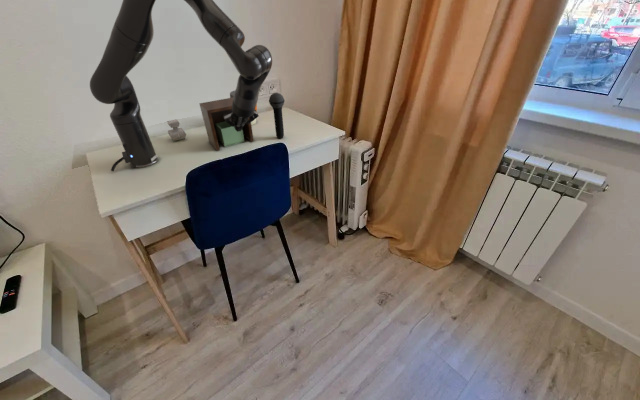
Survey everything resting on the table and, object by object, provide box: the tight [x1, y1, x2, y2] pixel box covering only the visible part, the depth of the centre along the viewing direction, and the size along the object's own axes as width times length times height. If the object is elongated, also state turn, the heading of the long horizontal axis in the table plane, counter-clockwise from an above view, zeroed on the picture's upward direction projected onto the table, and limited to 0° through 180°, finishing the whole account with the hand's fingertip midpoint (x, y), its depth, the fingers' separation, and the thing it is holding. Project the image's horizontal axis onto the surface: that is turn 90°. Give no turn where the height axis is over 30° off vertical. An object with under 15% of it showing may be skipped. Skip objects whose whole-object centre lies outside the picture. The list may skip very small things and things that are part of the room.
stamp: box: [166, 119, 187, 142], centre depth 126 cm, size 9×7×8 cm
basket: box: [215, 119, 245, 148], centre depth 124 cm, size 9×8×8 cm
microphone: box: [268, 92, 285, 140], centre depth 123 cm, size 7×7×20 cm
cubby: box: [199, 97, 255, 152], centre depth 121 cm, size 17×11×17 cm, turn 124°
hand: (237, 129), depth 107 cm, fingers closed
